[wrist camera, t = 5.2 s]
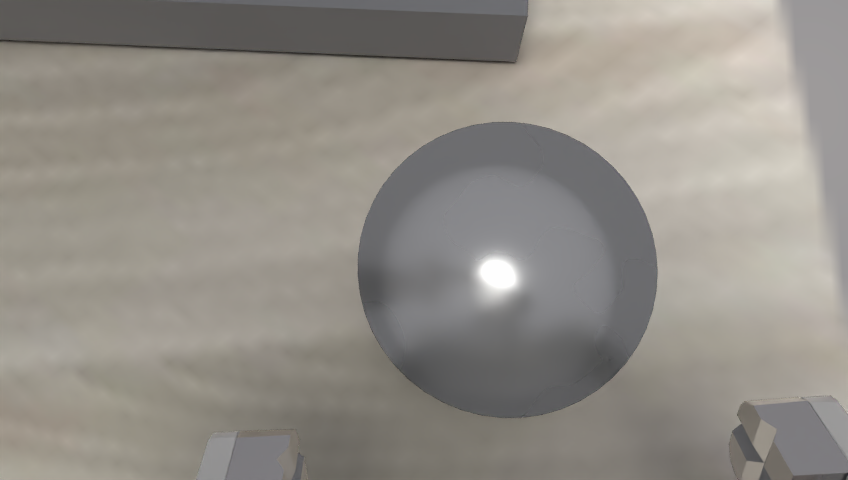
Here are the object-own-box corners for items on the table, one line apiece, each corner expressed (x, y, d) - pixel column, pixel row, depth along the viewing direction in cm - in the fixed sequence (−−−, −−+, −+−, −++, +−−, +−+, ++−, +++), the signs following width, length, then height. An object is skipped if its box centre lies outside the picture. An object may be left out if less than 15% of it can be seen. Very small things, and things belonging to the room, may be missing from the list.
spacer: (391, 385, 20) (346, 408, 11) (402, 228, 21) (369, 115, 12) (552, 395, 20) (658, 427, 10) (556, 237, 21) (656, 129, 11)
